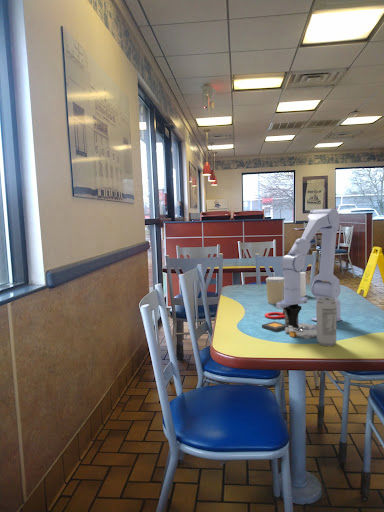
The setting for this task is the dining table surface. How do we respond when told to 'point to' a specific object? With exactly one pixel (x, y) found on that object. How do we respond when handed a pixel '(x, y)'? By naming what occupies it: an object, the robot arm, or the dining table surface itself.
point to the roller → (286, 319)
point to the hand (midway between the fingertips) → (292, 325)
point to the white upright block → (303, 283)
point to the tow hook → (282, 315)
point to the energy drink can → (326, 321)
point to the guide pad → (274, 326)
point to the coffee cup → (274, 289)
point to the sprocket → (302, 330)
